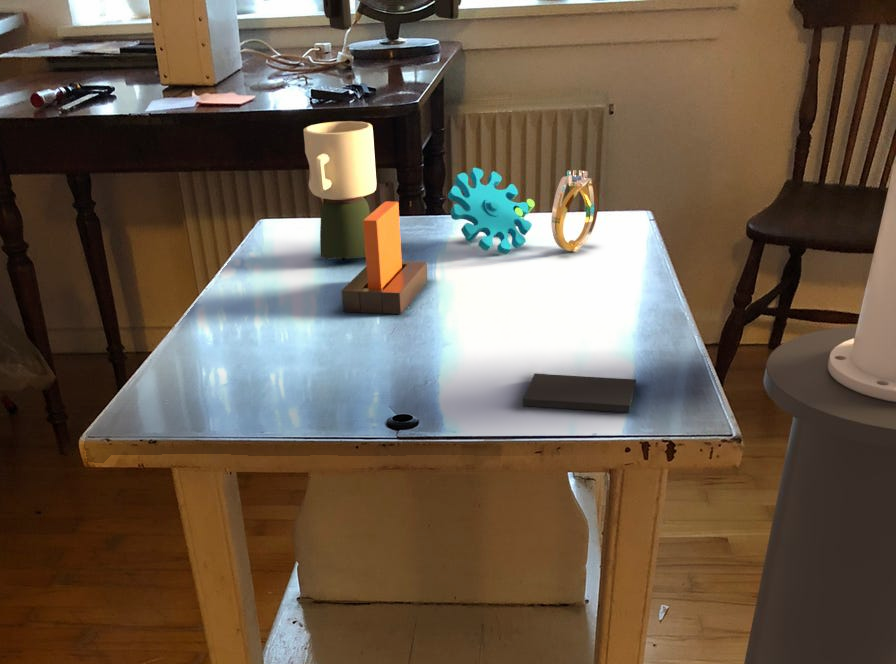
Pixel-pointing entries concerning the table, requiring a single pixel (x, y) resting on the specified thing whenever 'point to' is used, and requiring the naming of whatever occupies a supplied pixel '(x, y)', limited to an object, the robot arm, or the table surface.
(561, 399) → the mat
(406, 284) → the frame
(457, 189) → the gear
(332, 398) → the table surface
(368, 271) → the orange rectangular board
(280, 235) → the table surface
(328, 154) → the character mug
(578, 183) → the ring
